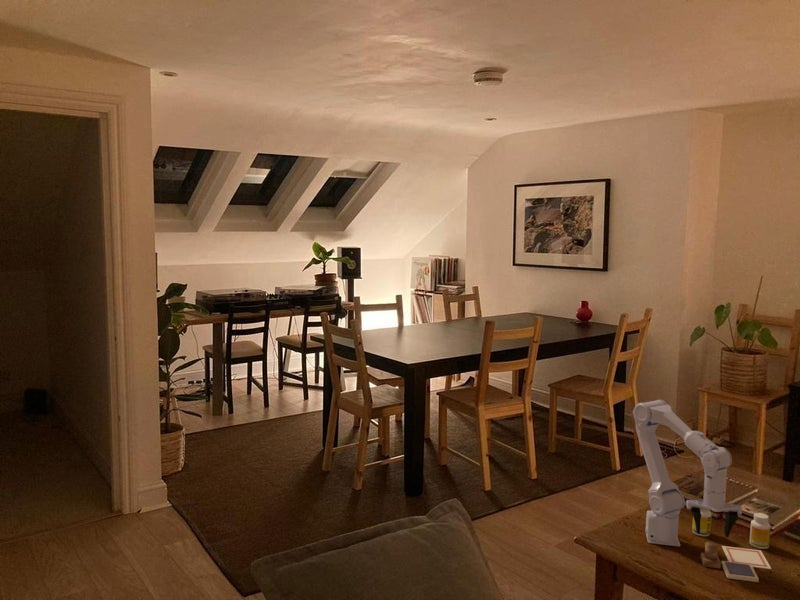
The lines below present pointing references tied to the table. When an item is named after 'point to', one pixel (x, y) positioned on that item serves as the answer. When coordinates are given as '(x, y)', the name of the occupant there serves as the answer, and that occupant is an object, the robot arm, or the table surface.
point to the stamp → (710, 556)
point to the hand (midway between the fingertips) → (712, 533)
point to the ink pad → (739, 571)
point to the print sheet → (746, 557)
